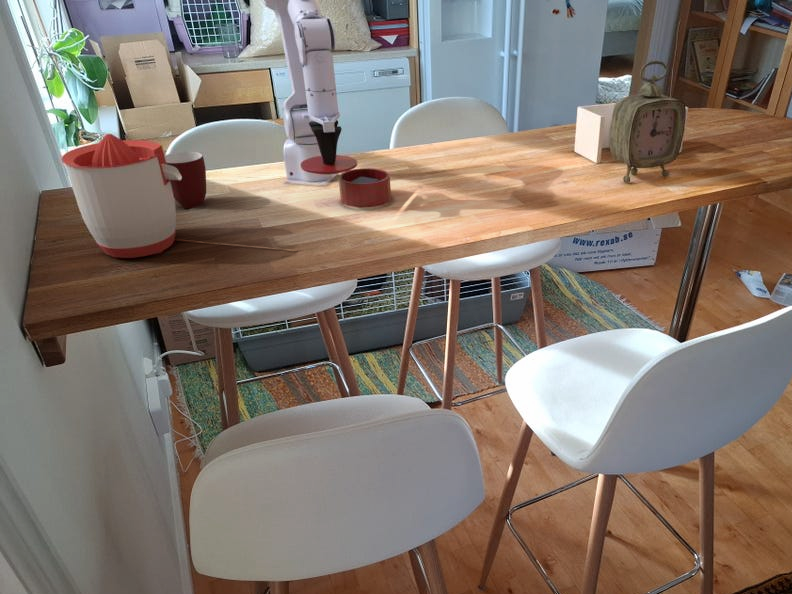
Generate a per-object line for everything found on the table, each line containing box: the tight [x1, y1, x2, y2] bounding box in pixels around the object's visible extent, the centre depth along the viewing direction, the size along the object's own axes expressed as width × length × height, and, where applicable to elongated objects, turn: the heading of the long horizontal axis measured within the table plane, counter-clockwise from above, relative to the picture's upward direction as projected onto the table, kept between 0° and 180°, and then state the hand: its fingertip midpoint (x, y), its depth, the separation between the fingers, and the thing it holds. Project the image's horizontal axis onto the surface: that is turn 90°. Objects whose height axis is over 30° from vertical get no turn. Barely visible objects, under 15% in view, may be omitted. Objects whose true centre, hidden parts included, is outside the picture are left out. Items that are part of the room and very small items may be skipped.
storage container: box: [573, 102, 689, 164], centre depth 174 cm, size 25×11×11 cm, turn 113°
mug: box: [164, 151, 207, 210], centre depth 139 cm, size 11×8×10 cm
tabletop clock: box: [609, 60, 686, 184], centre depth 153 cm, size 14×9×25 cm, turn 114°
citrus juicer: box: [61, 133, 182, 259], centre depth 119 cm, size 16×17×20 cm
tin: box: [338, 167, 392, 208], centre depth 143 cm, size 10×10×5 cm
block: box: [351, 177, 379, 183], centre depth 144 cm, size 4×4×4 cm
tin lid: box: [301, 154, 358, 175], centre depth 137 cm, size 11×11×5 cm
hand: (328, 160), depth 138 cm, fingers closed on tin lid, 2 cm apart
